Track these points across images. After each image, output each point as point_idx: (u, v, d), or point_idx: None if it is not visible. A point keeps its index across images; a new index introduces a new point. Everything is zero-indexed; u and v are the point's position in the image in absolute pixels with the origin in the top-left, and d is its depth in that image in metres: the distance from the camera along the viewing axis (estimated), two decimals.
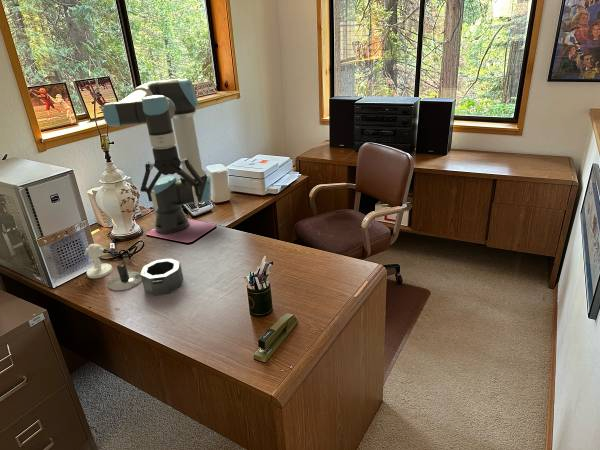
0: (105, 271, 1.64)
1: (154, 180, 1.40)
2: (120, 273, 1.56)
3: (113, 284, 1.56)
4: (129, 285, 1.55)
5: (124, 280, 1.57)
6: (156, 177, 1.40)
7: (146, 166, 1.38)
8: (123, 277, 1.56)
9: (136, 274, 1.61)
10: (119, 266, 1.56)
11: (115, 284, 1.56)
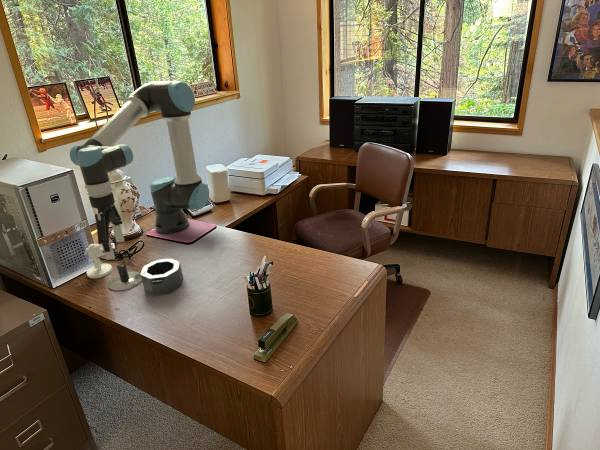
0: (105, 271, 1.64)
1: None
2: (120, 273, 1.56)
3: (113, 284, 1.56)
4: (129, 285, 1.55)
5: (124, 280, 1.57)
6: None
7: None
8: (123, 277, 1.56)
9: (136, 274, 1.61)
10: (119, 266, 1.56)
11: (115, 284, 1.56)
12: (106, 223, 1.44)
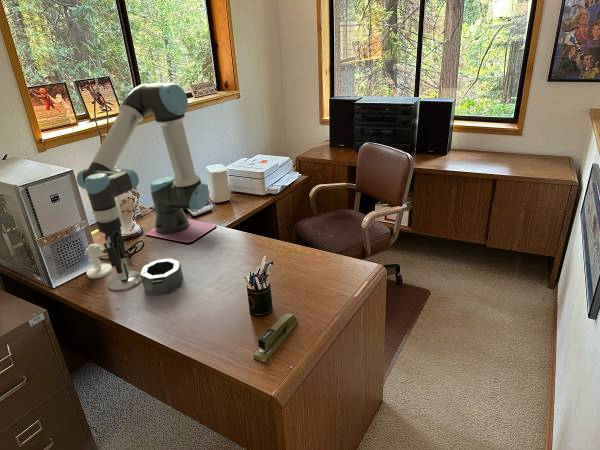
0: (105, 271, 1.64)
1: None
2: None
3: (113, 284, 1.56)
4: (129, 285, 1.54)
5: (124, 280, 1.57)
6: None
7: None
8: None
9: (136, 274, 1.61)
10: None
11: (115, 283, 1.56)
12: (115, 248, 1.50)
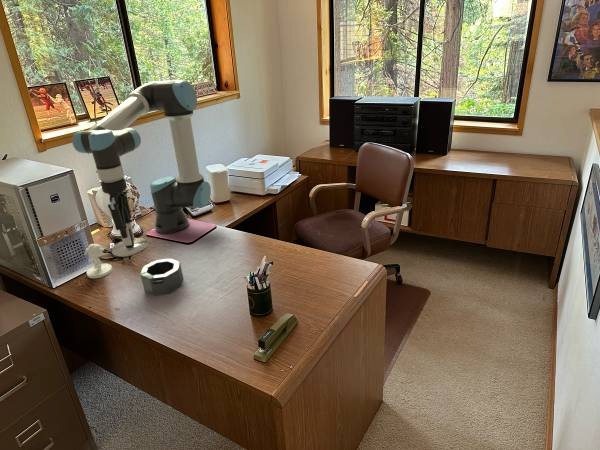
0: (105, 271, 1.64)
1: None
2: None
3: (117, 249, 1.48)
4: (134, 250, 1.47)
5: (129, 246, 1.49)
6: None
7: None
8: None
9: (142, 240, 1.53)
10: None
11: (120, 249, 1.48)
12: (120, 210, 1.42)
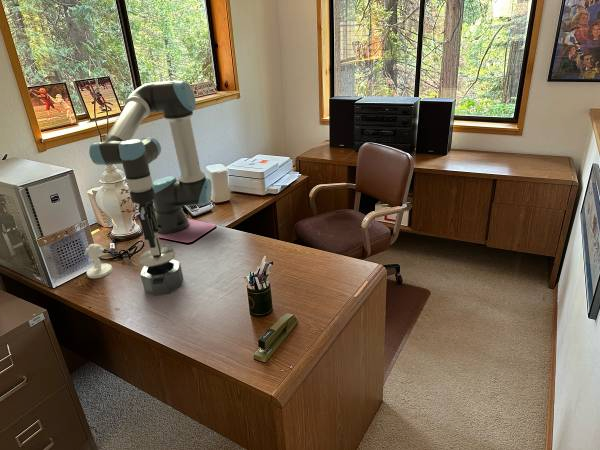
0: (105, 271, 1.64)
1: None
2: None
3: (145, 259, 1.47)
4: (162, 260, 1.46)
5: (156, 255, 1.48)
6: None
7: None
8: None
9: (168, 250, 1.52)
10: None
11: (147, 259, 1.47)
12: (149, 220, 1.41)
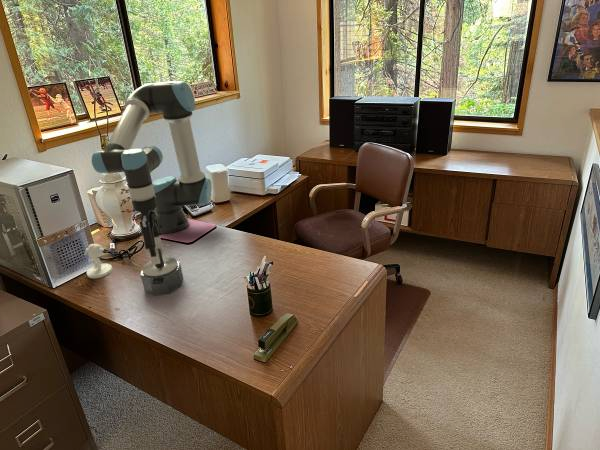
0: (105, 271, 1.64)
1: None
2: None
3: (148, 270, 1.49)
4: (165, 271, 1.48)
5: (159, 266, 1.50)
6: None
7: None
8: None
9: (170, 260, 1.54)
10: None
11: (150, 269, 1.49)
12: (150, 228, 1.42)
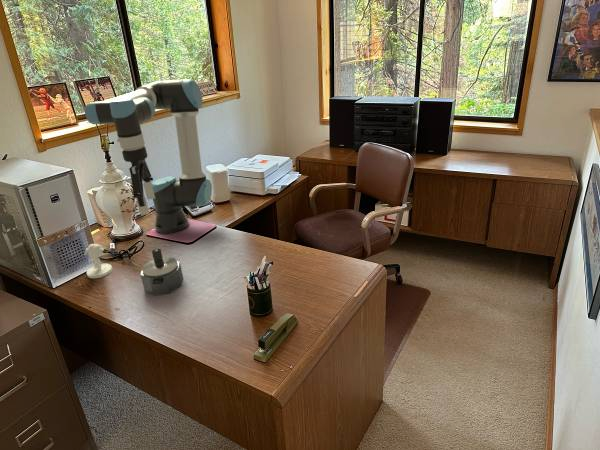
0: (105, 271, 1.64)
1: None
2: (155, 258, 1.49)
3: (148, 270, 1.49)
4: (165, 271, 1.48)
5: (159, 266, 1.50)
6: None
7: None
8: (158, 262, 1.49)
9: (170, 260, 1.54)
10: (154, 251, 1.49)
11: (150, 269, 1.49)
12: (140, 177, 1.42)
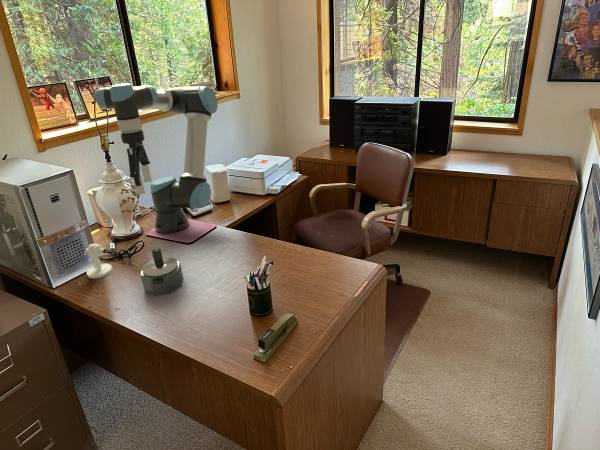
0: (105, 271, 1.64)
1: None
2: (155, 258, 1.49)
3: (148, 270, 1.49)
4: (165, 271, 1.48)
5: (159, 266, 1.50)
6: None
7: None
8: (158, 262, 1.49)
9: (170, 260, 1.54)
10: (154, 251, 1.49)
11: (150, 269, 1.49)
12: (137, 158, 1.50)
